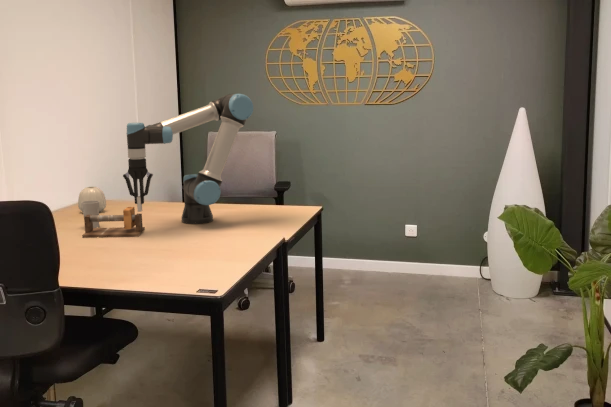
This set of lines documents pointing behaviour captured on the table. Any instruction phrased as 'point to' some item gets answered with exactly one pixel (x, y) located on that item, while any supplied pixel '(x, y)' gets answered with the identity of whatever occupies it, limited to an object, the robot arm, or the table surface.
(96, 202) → the cup
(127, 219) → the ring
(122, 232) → the pipe stand
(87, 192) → the vase
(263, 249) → the table surface
